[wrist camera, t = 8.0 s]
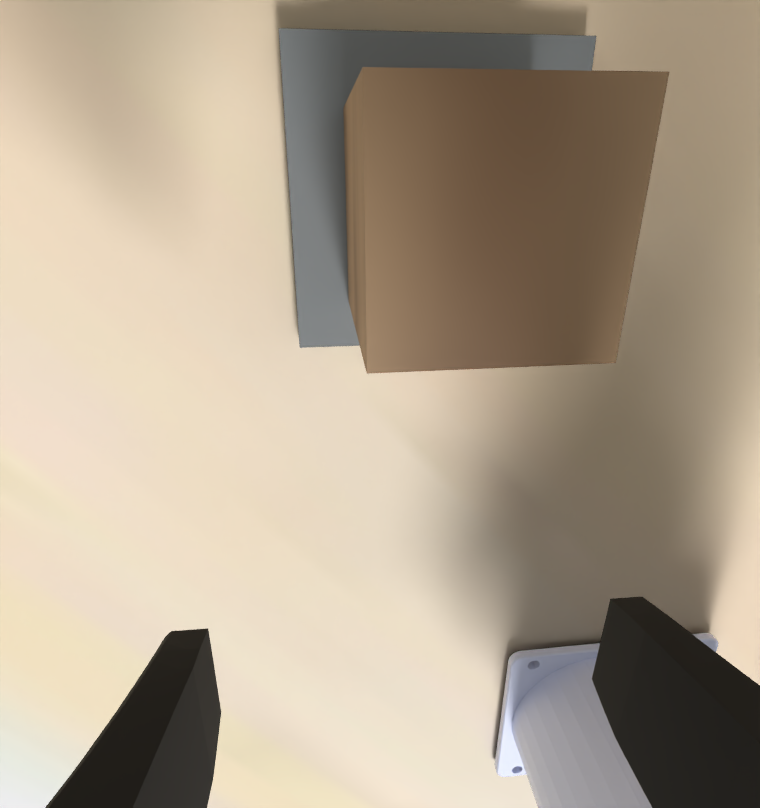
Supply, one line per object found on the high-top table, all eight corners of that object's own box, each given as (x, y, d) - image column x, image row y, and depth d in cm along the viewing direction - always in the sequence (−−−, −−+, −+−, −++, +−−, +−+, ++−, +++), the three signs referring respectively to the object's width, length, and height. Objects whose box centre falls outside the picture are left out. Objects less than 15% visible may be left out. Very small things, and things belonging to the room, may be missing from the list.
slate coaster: (585, 41, 14) (596, 36, 14) (547, 333, 17) (555, 338, 17) (280, 33, 13) (278, 28, 13) (300, 341, 17) (299, 347, 16)
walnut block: (532, 109, 14) (668, 72, 9) (513, 297, 16) (615, 362, 11) (343, 108, 14) (362, 66, 8) (348, 301, 16) (366, 373, 10)
